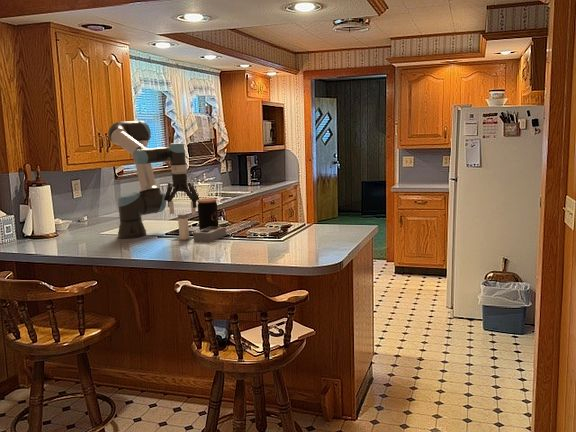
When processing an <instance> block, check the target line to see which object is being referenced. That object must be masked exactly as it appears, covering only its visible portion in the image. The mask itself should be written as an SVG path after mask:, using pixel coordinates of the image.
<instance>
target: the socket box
mask: <svg viewBox="0 0 576 432" xmlns="http://www.w3.org/2000/svg"><path fill="white" fill-rule="evenodd" d="M192 234H193V236H192V237H194V239H193V241H194V242H206V243H211V242H213V241H217V240H219V239H221V238H223V237H225V236H227V227H226V226H219V227H213V226H209V227H207V228H204V229H201V230H200V229H199V230H196V231H193V232H192Z"/></svg>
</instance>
